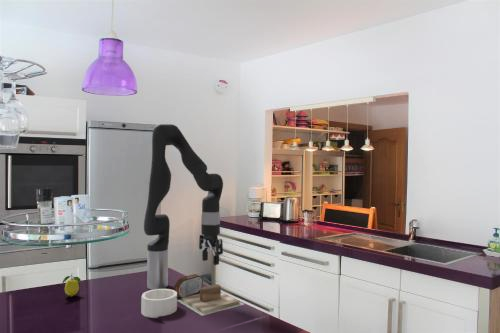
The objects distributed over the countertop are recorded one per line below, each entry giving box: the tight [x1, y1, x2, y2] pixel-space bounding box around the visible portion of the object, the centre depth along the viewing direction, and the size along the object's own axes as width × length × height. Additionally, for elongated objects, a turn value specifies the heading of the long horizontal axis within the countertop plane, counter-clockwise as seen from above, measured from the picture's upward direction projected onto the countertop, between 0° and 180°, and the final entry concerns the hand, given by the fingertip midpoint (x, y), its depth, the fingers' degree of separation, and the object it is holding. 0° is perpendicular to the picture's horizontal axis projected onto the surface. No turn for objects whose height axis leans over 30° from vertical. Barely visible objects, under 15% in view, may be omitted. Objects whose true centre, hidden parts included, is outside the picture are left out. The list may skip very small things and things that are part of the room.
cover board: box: [181, 284, 241, 313], centre depth 160 cm, size 17×17×6 cm
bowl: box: [140, 288, 178, 319], centre depth 152 cm, size 13×13×6 cm
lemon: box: [61, 274, 82, 297], centre depth 167 cm, size 7×6×10 cm
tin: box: [173, 273, 204, 299], centre depth 170 cm, size 15×3×8 cm, turn 141°
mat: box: [177, 298, 245, 317], centre depth 160 cm, size 20×20×1 cm
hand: (210, 262), depth 160 cm, fingers open, 8 cm apart
